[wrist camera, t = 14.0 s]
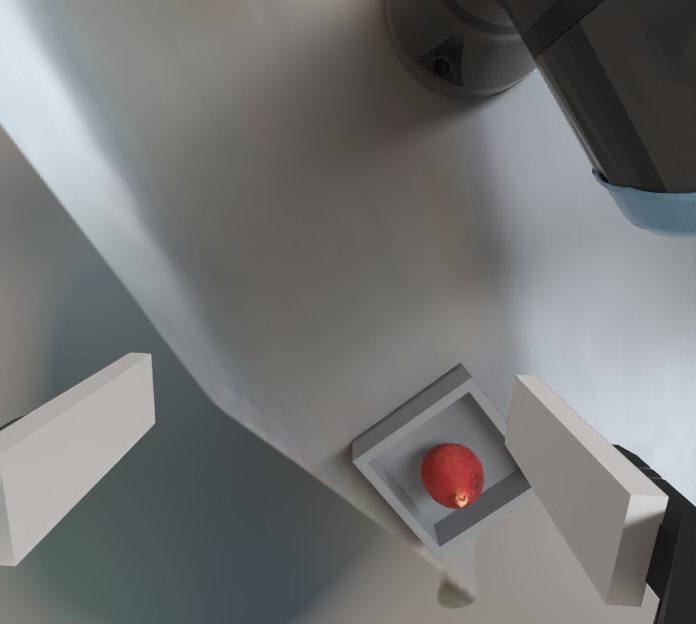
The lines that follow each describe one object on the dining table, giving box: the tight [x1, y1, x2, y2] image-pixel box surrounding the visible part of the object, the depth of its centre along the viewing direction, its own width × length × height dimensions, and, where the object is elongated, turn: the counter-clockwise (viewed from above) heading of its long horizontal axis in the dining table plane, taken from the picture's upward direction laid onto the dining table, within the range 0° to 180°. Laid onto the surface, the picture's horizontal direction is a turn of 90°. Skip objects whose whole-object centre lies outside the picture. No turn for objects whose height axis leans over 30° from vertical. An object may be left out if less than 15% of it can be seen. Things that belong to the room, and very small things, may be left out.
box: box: [352, 363, 536, 559], centre depth 43 cm, size 14×14×4 cm
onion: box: [421, 443, 484, 509], centre depth 40 cm, size 6×6×8 cm
